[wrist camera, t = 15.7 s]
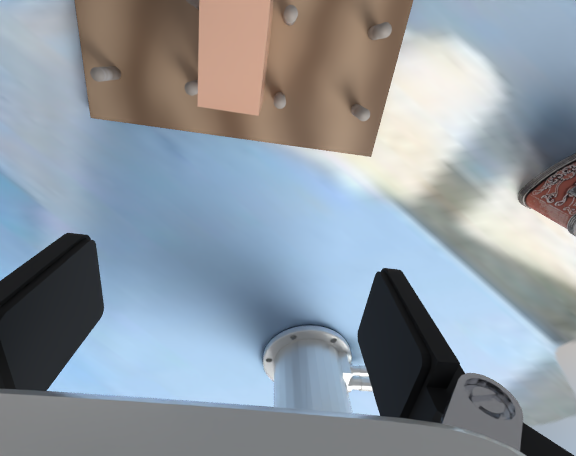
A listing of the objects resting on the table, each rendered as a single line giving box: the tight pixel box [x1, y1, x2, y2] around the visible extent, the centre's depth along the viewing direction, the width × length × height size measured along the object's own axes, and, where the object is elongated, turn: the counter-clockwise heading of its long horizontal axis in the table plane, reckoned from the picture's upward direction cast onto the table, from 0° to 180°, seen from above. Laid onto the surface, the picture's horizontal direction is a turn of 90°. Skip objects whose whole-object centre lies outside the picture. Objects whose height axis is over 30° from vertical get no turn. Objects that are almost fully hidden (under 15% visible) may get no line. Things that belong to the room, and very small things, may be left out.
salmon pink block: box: [197, 0, 273, 116], centre depth 23 cm, size 4×7×8 cm, turn 171°
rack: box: [75, 0, 413, 157], centre depth 26 cm, size 26×14×4 cm, turn 82°
